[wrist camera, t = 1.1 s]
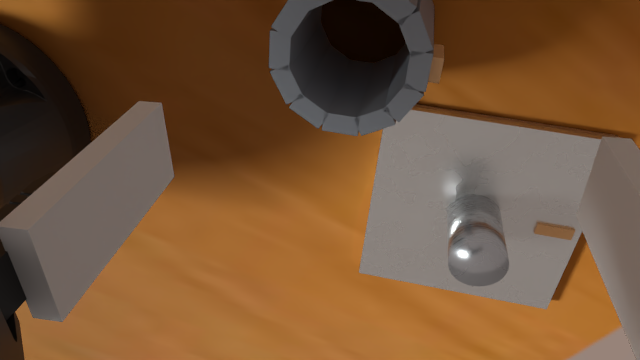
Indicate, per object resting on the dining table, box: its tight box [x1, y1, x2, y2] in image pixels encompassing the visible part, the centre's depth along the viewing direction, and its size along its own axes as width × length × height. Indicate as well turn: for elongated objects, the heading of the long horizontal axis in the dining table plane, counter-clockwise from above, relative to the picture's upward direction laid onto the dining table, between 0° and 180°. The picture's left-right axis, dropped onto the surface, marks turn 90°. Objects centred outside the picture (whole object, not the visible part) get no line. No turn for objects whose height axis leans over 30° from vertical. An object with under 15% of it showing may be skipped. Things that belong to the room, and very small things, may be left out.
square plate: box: [359, 104, 619, 309], centre depth 34 cm, size 14×14×6 cm
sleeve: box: [269, 0, 444, 136], centre depth 27 cm, size 8×8×8 cm
